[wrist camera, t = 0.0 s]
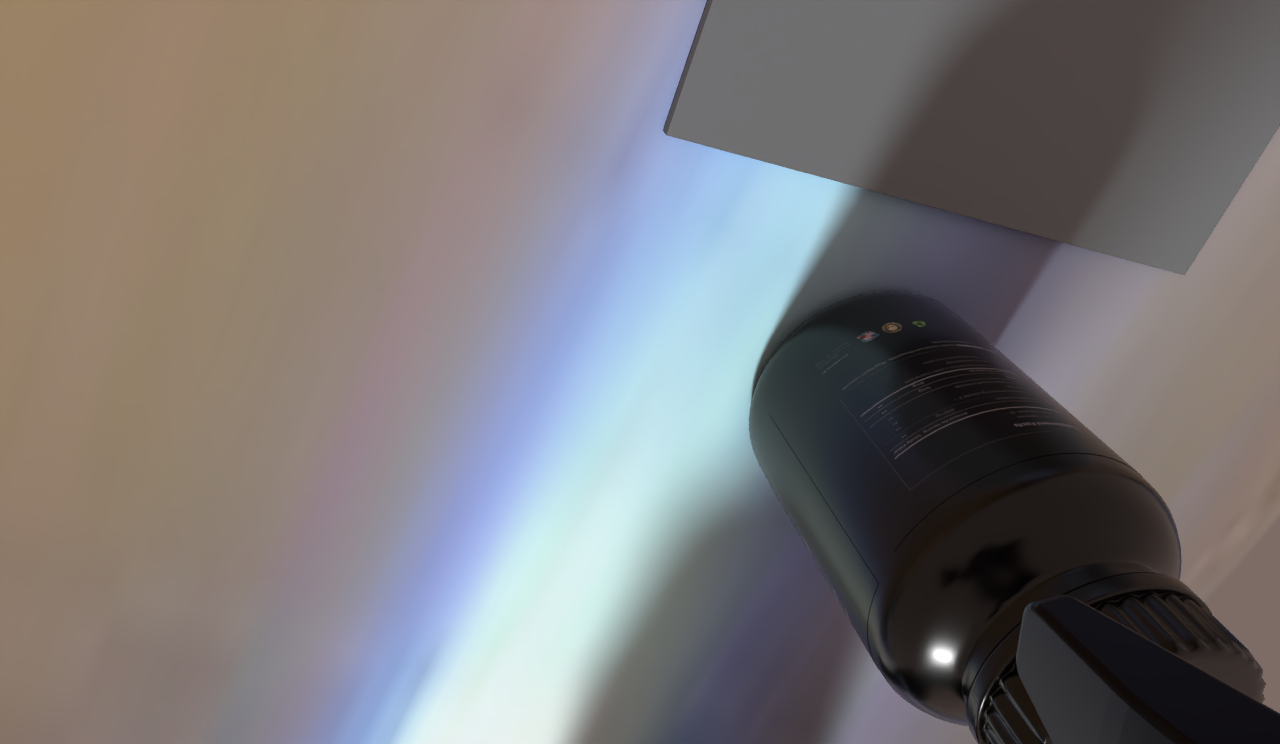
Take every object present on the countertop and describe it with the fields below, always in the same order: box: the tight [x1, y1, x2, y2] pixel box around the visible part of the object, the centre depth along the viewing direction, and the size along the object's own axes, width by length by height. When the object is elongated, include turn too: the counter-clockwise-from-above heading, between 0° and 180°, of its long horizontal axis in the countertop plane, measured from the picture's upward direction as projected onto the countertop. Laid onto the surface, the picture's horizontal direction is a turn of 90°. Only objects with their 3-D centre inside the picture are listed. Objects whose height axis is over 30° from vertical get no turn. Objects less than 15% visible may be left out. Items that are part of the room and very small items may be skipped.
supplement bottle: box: [749, 292, 1266, 744], centre depth 22 cm, size 7×7×12 cm
